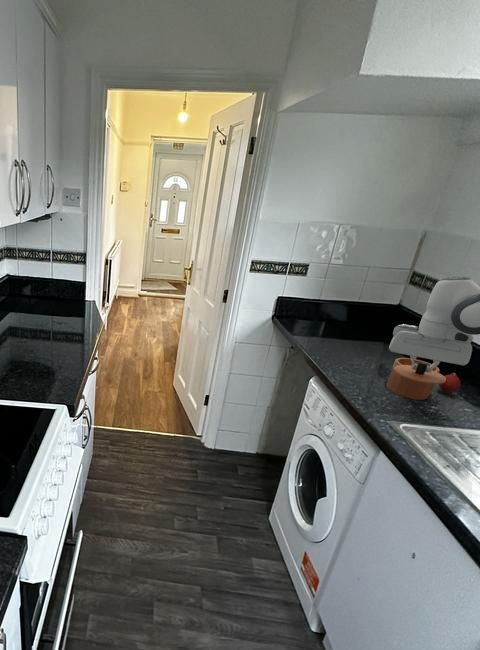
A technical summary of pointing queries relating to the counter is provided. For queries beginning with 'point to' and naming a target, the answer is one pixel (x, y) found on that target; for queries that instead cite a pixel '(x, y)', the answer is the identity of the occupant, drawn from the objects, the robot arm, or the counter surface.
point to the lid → (420, 374)
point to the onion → (450, 383)
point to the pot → (409, 382)
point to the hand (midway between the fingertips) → (420, 370)
